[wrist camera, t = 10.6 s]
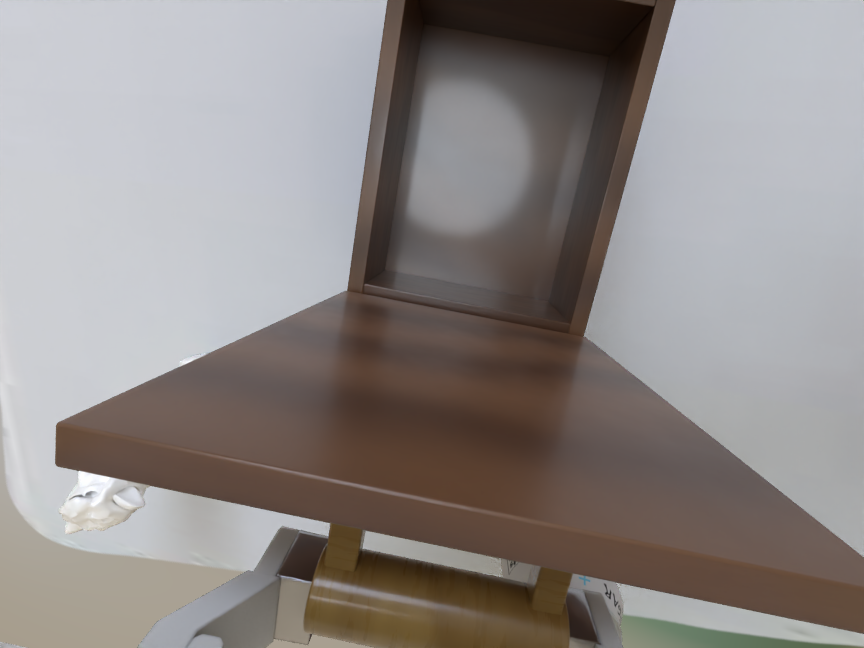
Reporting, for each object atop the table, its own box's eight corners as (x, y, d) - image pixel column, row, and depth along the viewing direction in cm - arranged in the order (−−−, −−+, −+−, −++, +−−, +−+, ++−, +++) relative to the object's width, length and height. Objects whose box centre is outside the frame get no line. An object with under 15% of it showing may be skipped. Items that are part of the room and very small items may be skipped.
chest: (413, 11, 29) (395, -61, 22) (622, 48, 29) (679, -12, 21) (373, 277, 34) (346, 295, 26) (555, 313, 33) (582, 341, 26)
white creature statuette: (208, 344, 36) (85, 404, 24) (268, 432, 37) (179, 529, 26) (119, 396, 38) (-35, 476, 26) (180, 478, 39) (59, 590, 27)
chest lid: (53, 422, 7) (48, 675, 8) (919, 600, 7) (807, 842, 8) (345, 290, 26) (333, 373, 27) (586, 337, 25) (564, 419, 26)
